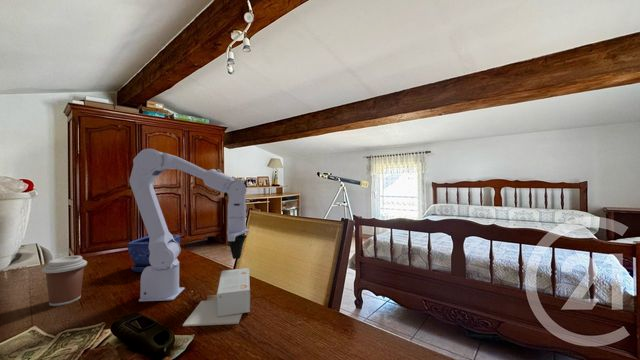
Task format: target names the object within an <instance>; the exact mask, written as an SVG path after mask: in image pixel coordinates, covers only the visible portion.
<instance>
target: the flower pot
mask: <svg viewBox="0 0 640 360" xmlns="http://www.w3.org/2000/svg"><path fill="white" fill-rule="evenodd" d="M172 236H173V238H174V240H175V241H176V242H177V243H178V244H179V245H180V243H181V235H179V234H178V235H176V234H172ZM149 240H150V239H149V236H148V235H146V236H144V237H140V238H138V239H134V240H132V241H130V242H128V243H127V249H128V254H129V257H130V259H131V261H132V262H133V263H134V265H133V266H131V267H130V269H131V270H132V271H134V272H137V273H142V272H143V270H144V269H145V268H146V267H148V266H151V264H150V262H149V256H150V251H149V248H148V247H149Z"/></svg>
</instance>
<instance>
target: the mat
mask: <svg viewBox="0 0 640 360" xmlns="http://www.w3.org/2000/svg"><path fill="white" fill-rule="evenodd" d="M243 314H244V313H240V314H234V315H227V316H221V317H218V309H217V300H209V301H207V300H200V302H199V304H198V305H197V306H196V307H195V308H194V310H193V311H192V312H191V314H189V316H188V317H187V319H186V320H185V321H184V323H182V327H198V326H216V325H217V326H219V325H236V324H237V325H239V324H240V321H241V318H242V315H243Z"/></svg>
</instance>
